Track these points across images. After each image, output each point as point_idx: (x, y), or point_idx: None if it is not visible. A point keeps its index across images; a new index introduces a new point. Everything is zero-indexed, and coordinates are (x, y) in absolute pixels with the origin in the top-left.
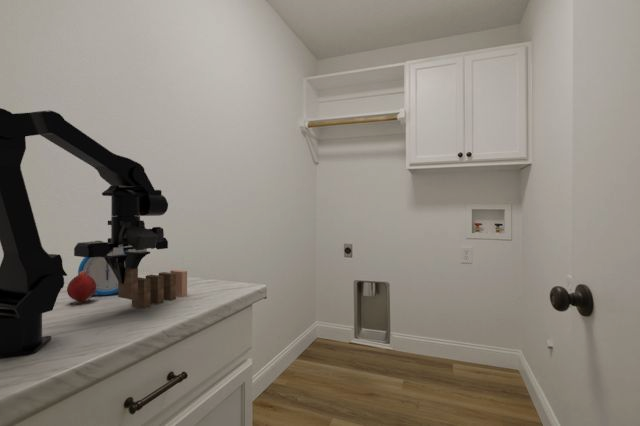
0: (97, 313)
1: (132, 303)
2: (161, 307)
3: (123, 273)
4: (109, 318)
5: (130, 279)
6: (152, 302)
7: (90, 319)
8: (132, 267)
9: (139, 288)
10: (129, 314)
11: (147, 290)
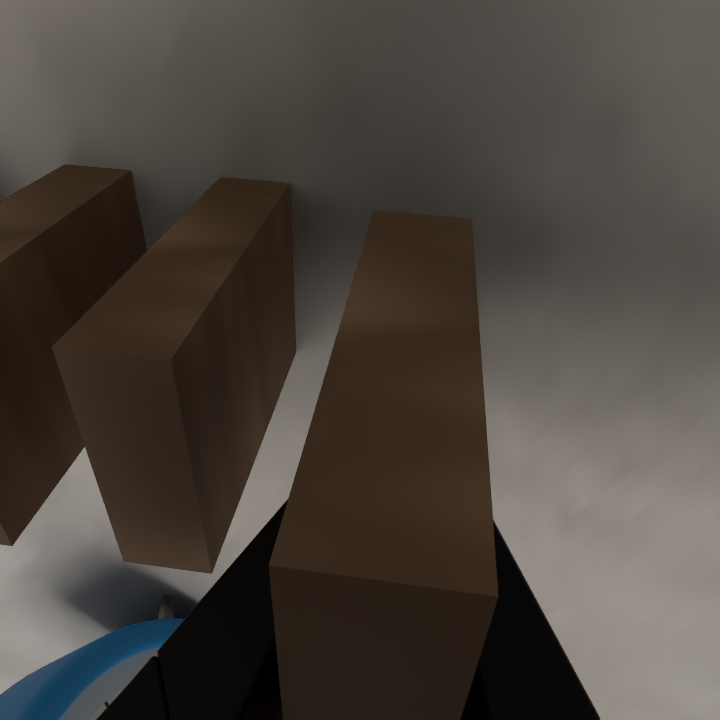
0: (541, 427)
1: (290, 356)
2: (164, 25)
3: (495, 633)
4: (640, 233)
5: (480, 410)
6: (143, 254)
7: (690, 357)
8: (256, 710)
9: (233, 367)
10: (486, 156)
11: (182, 263)
